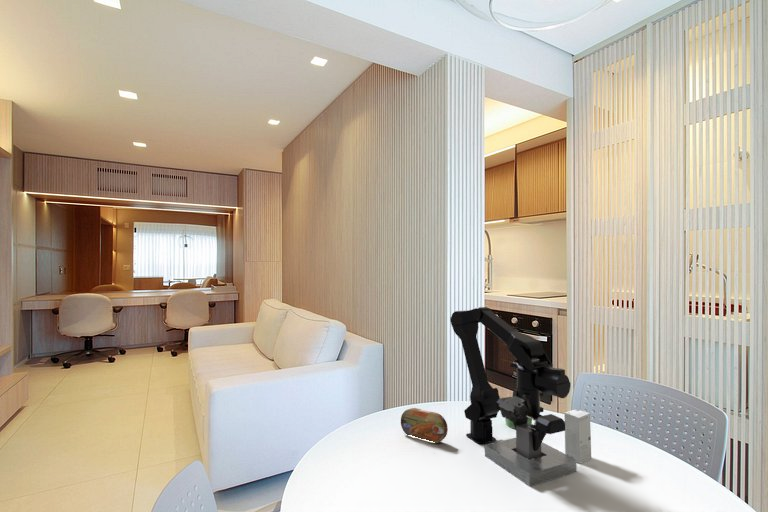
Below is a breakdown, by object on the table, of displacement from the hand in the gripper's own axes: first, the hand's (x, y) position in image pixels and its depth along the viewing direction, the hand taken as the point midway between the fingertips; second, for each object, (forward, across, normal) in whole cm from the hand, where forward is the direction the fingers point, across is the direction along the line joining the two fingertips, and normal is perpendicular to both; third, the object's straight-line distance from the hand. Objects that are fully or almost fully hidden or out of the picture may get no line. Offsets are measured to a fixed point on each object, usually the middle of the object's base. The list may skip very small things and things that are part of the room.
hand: (528, 446), depth 99 cm
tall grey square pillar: (+2, 0, 0) cm, 2 cm away
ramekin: (+5, -20, +16) cm, 26 cm away
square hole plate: (+4, 0, 0) cm, 4 cm away
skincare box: (+5, +3, +15) cm, 16 cm away
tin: (+5, -24, -18) cm, 30 cm away
